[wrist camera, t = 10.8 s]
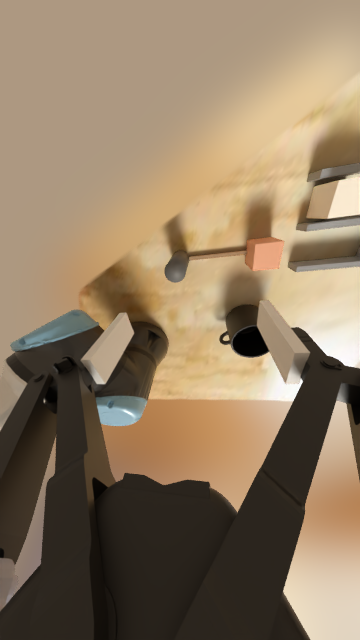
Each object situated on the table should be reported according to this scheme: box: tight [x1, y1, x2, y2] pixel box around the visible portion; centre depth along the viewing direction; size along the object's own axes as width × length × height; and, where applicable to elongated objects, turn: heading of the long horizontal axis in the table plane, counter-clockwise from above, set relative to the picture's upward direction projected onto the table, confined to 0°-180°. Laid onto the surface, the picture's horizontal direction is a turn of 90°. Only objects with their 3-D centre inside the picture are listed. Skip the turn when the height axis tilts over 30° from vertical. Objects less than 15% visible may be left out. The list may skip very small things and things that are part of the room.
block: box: [306, 177, 360, 219], centre depth 25 cm, size 4×4×6 cm
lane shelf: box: [288, 163, 360, 272], centre depth 28 cm, size 13×15×4 cm
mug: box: [219, 305, 269, 358], centre depth 39 cm, size 9×12×9 cm
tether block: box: [165, 237, 284, 282], centre depth 30 cm, size 20×4×10 cm, turn 97°
